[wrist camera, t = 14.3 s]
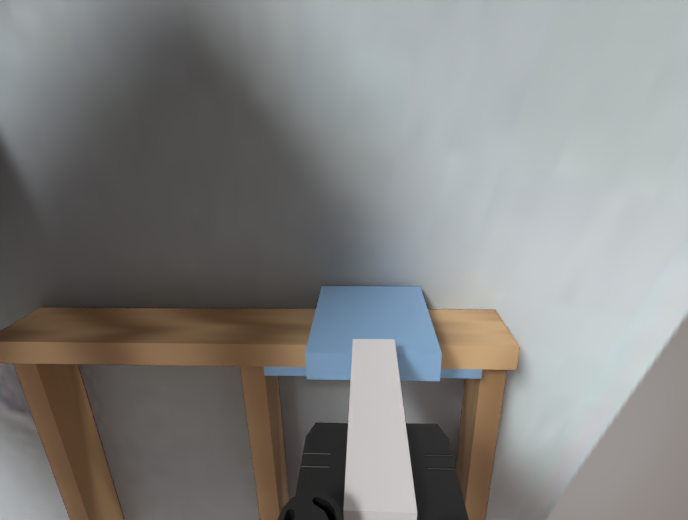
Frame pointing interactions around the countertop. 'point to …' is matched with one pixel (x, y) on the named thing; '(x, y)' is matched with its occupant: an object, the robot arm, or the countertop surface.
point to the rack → (257, 381)
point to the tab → (372, 330)
